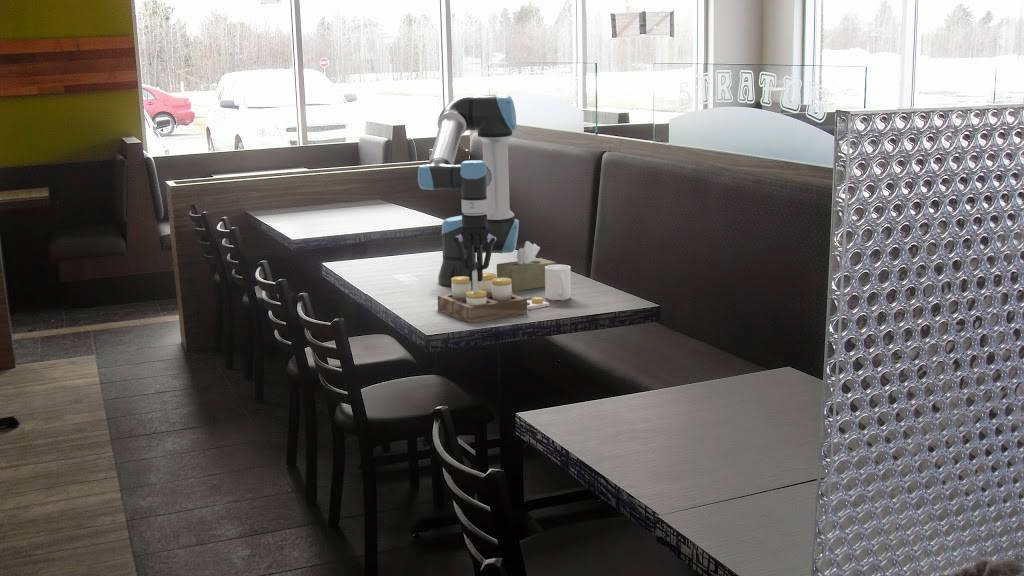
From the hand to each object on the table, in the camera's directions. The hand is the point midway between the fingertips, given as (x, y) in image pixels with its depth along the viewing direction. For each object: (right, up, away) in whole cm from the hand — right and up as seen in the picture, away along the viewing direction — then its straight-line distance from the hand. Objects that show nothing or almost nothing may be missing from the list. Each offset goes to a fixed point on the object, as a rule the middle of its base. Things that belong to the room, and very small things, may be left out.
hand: (476, 291), depth 294 cm
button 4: (+8, -2, +5) cm, 10 cm away
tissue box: (+16, +2, +44) cm, 47 cm away
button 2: (0, -6, +1) cm, 6 cm away
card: (+15, -4, +16) cm, 22 cm away
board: (+2, -6, +8) cm, 10 cm away
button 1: (-5, -2, +8) cm, 10 cm away
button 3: (+3, -1, +13) cm, 13 cm away
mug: (+26, -3, +23) cm, 35 cm away
